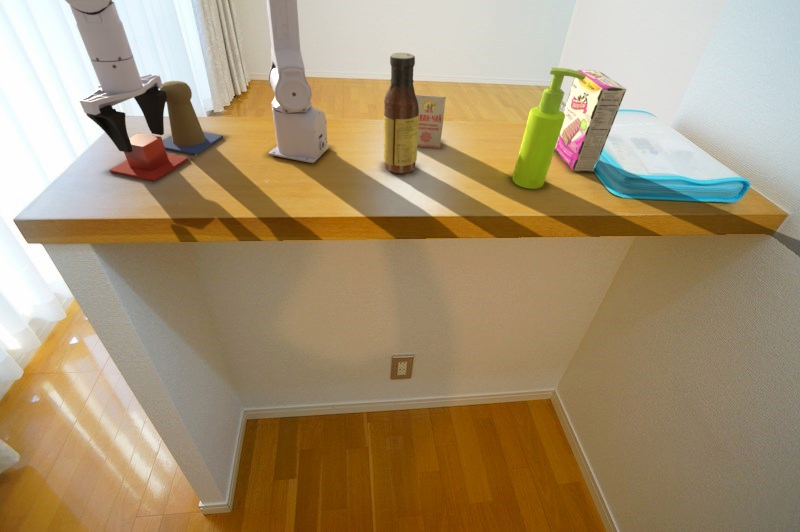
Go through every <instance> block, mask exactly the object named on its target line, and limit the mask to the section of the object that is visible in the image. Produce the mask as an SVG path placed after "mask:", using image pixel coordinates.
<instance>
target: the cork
mask: <svg viewBox="0 0 800 532" xmlns="http://www.w3.org/2000/svg"><path fill="white" fill-rule="evenodd" d="M162 85H163V87H162V88H160V89H159V90H161V91H165V92H166V94H167V99H166V108H167V114H168V121H169V126H170V133H171V136H172V141H173V143H174V144H175V145H177V146H183V147H188V146H196V145H199V144H201V143H203V142H204V141H205V139H206V138H205V136H204V133H203V132H204V130H203V128H202V126H201V123H200V121H199V118H198V116H197V114H196V113H197V112H196V110H195V108H194V106H193V103H192V101H191V99H192V96H193V93H192V88H191V87H190V86H189V84H188V83H186V82H185V81H182V80H169V81H165V82H162Z"/></svg>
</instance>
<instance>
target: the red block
mask: <svg viewBox="0 0 800 532" xmlns="http://www.w3.org/2000/svg"><path fill="white" fill-rule="evenodd" d="M129 140H130V142H131V146H132V152H130V153H128V152H123V153H124V156H125V159H126V161H128V164H129V166H130V167H134V168H138V169H143V170H148V171H153V170H154V169H156V168H157V167H159V166H161V165H162V164H164V163H166V162H167V161H169V159H168V156H167V154H168V153H167V151H166V150H167V149H165V147H164V144H163V138H162V136H159V135H154V134H147V133H142V132H139V133H136V134H135V135H133V136H130V137H129Z"/></svg>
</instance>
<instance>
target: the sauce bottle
mask: <svg viewBox="0 0 800 532" xmlns="http://www.w3.org/2000/svg"><path fill="white" fill-rule="evenodd" d="M389 64H390V86H389V87H388V89H387V91H386V93H385V96H384V100H383V102H384V103H383V104H384V108H383V109H384V110H383V161H384V168H385V169H386V170H387V171H389V172H391V173H393V174H400V175H401V174H402V175H404V174H409V173H411V172H413V171H414V170H415V169H416V164H417V163H416V162H417V159H418V146H417V139H418V118H419V107H418V100H417V98H416V95H417V94H416V91H415V86H414V67H415V65H416V56H415V55H414V54H411V53H409V52H395V53H392V54H390V57H389ZM415 94H416V95H415Z"/></svg>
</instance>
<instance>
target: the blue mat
mask: <svg viewBox="0 0 800 532" xmlns="http://www.w3.org/2000/svg"><path fill="white" fill-rule="evenodd" d="M203 133H204V136H205V138H206V139H205V141H204V142H203V143H201V144H199V145H196V146H188V147H183V146H177V145H175V144H174V143H173V141H172V135H171V136H168V137H167V138H165V139H162V141H163V144H164V147H165V150H167V151H172V152H177V153H183V154H188V155H193V156H197V155H198V154H200V153H201V152H203V151H204V150H206V149H207V148H210V146H212V145H213V144H215V143H217V142H218V141H219V140H222V139H223V138H224V135H222V134H217V133H211V132H205V131H203Z"/></svg>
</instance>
